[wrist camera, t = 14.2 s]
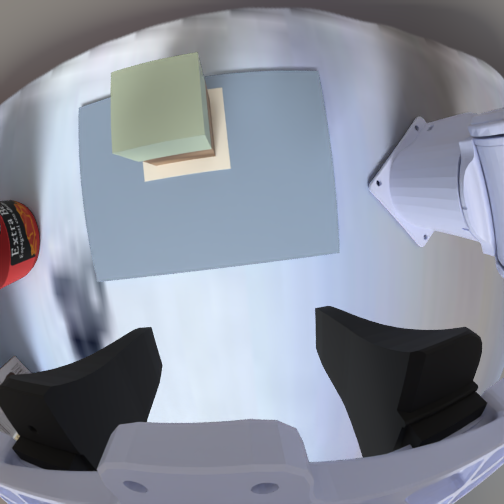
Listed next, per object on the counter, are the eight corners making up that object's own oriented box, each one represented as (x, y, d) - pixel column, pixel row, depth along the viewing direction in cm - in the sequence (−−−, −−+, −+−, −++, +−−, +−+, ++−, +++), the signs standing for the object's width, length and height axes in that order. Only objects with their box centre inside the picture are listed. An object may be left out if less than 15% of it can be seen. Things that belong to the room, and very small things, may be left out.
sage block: (204, 81, 14) (197, 52, 10) (211, 148, 15) (204, 134, 11) (135, 95, 14) (111, 72, 10) (138, 161, 15) (112, 153, 11)
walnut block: (209, 100, 18) (204, 79, 14) (215, 156, 19) (211, 146, 15) (151, 110, 18) (135, 93, 14) (155, 165, 19) (138, 159, 15)
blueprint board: (316, 72, 19) (318, 70, 18) (337, 251, 22) (339, 253, 21) (81, 109, 18) (78, 107, 17) (99, 280, 21) (96, 282, 20)
